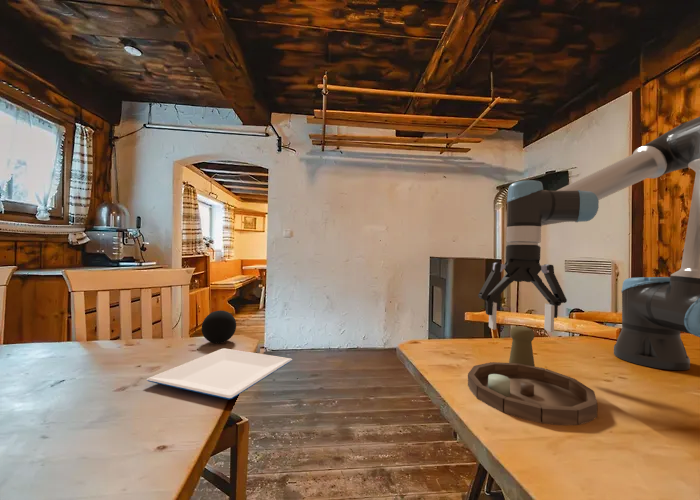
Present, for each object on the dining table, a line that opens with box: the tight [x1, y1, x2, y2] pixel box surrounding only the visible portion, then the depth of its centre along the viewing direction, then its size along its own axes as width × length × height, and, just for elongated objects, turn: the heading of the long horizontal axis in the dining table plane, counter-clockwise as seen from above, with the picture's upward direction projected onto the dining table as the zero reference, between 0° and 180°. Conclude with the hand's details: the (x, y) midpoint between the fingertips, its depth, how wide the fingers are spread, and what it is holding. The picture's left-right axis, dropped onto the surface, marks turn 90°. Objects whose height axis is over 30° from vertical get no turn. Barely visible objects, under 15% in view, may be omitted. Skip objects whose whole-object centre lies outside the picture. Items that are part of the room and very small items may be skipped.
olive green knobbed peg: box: [508, 325, 536, 367], centre depth 76 cm, size 6×6×11 cm
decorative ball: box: [201, 310, 237, 344], centre depth 96 cm, size 10×10×10 cm
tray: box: [467, 361, 598, 426], centre depth 62 cm, size 22×22×3 cm
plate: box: [146, 347, 293, 400], centre depth 71 cm, size 22×22×2 cm
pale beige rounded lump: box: [488, 374, 510, 397], centre depth 62 cm, size 4×4×3 cm
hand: (520, 329), depth 76 cm, fingers open, 13 cm apart
